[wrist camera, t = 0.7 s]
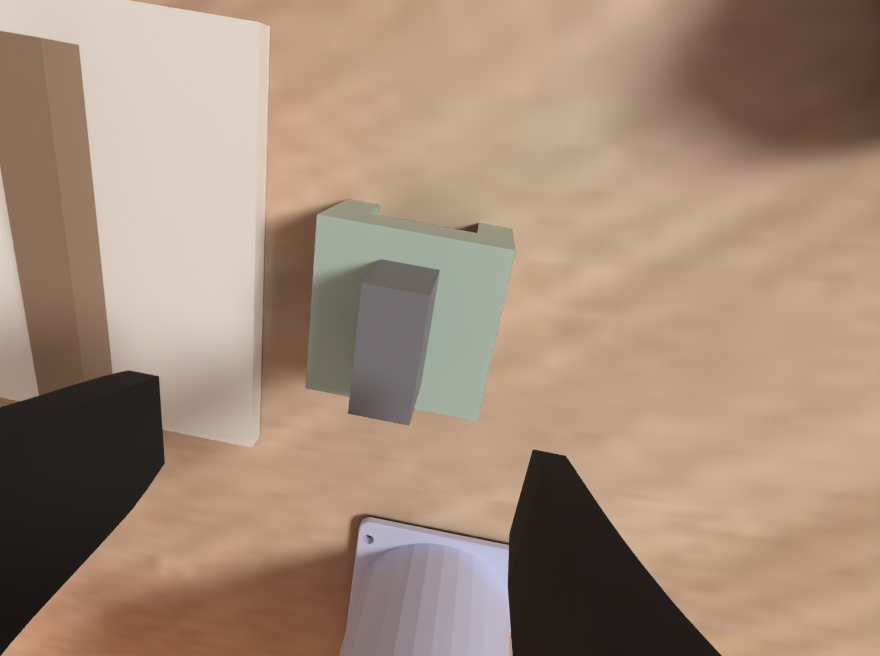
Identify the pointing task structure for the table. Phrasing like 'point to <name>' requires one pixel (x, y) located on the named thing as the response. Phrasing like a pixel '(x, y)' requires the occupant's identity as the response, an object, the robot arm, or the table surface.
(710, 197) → the table surface
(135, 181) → the board
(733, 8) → the table surface
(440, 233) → the sage slotted block
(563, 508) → the robot arm
